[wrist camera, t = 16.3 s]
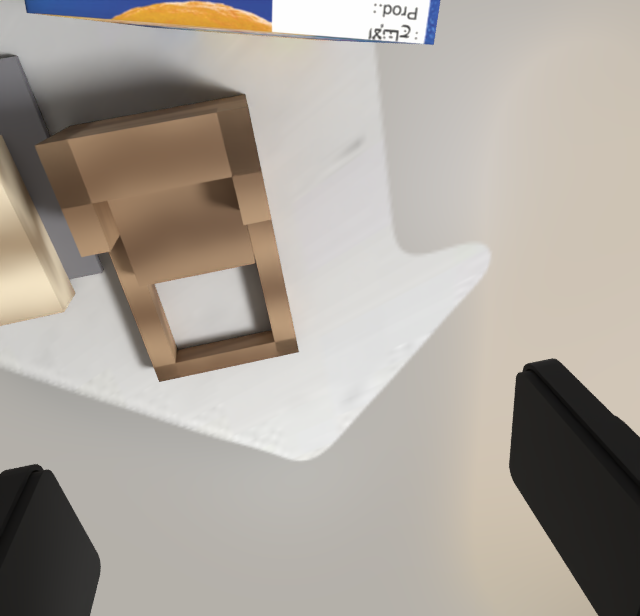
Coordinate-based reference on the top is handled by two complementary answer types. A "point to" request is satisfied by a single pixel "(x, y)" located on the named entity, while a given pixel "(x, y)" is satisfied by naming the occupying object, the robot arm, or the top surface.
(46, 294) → the slab
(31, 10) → the beverage box
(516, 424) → the robot arm
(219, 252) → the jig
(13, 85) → the mat
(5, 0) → the top surface
